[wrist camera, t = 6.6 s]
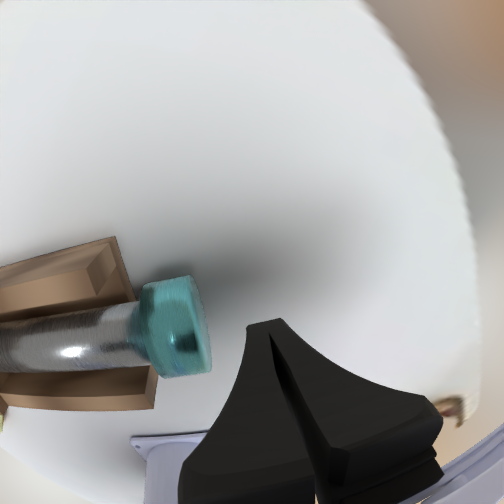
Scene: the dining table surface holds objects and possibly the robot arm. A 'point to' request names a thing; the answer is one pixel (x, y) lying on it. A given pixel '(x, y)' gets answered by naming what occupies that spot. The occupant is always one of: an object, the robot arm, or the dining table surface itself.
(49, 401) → the housing
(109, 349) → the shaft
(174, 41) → the dining table surface
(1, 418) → the decorated donut
